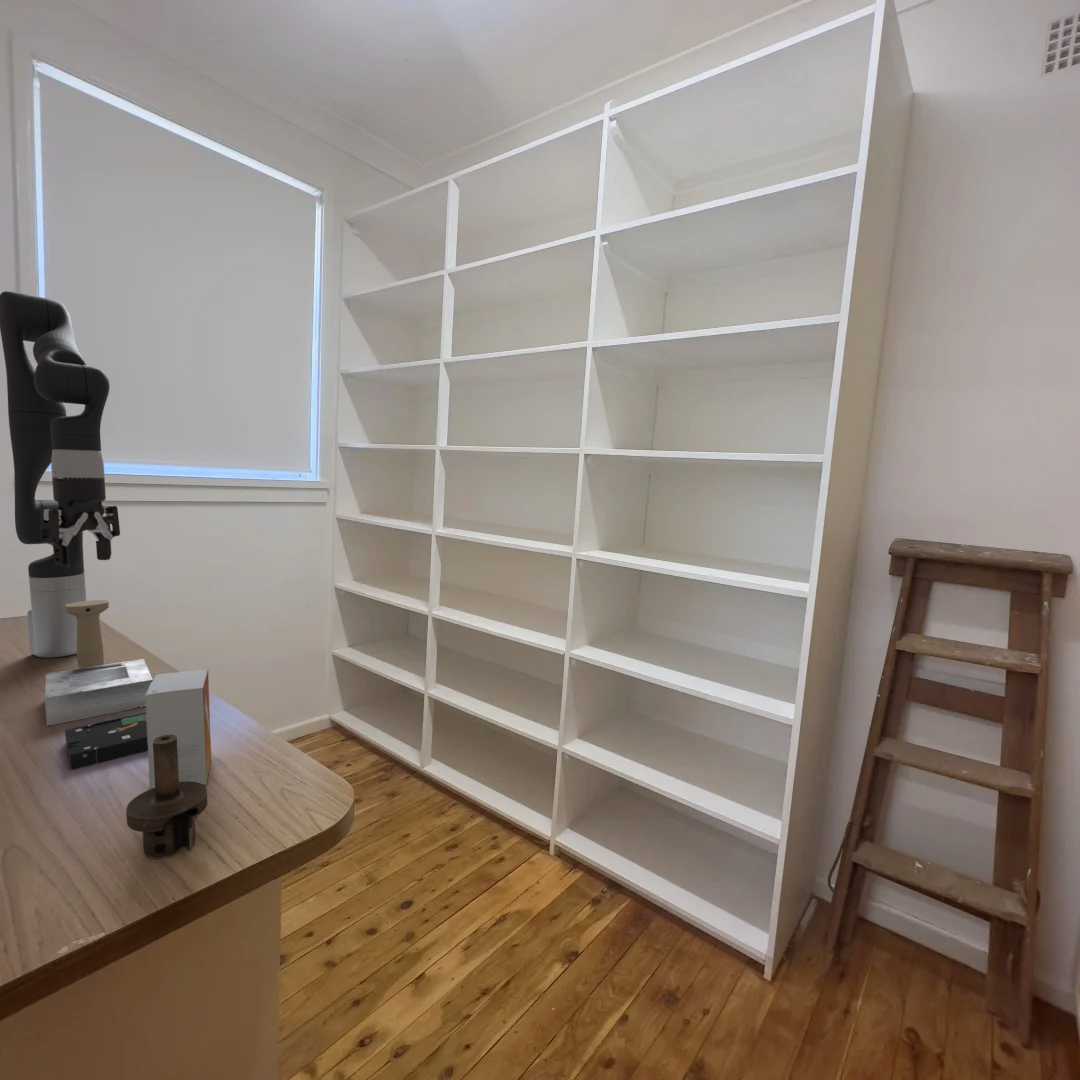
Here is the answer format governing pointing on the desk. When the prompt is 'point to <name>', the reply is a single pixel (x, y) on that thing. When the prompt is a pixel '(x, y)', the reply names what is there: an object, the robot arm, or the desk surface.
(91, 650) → the handle
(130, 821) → the industrial component
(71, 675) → the socket block
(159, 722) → the small box
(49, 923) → the desk surface
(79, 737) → the disk drive
